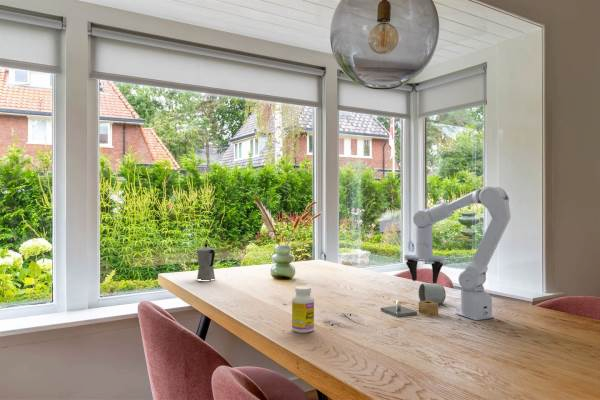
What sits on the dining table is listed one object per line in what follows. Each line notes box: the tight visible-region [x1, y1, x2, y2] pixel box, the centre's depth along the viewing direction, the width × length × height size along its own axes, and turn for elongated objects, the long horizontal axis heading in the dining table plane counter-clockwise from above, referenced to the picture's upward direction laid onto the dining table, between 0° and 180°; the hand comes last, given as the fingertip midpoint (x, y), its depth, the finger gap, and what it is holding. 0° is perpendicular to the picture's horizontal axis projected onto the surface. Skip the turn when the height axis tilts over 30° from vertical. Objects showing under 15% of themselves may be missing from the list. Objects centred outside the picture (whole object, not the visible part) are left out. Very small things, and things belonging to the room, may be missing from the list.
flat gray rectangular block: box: [380, 300, 418, 318], centre depth 156 cm, size 10×8×4 cm
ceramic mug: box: [418, 282, 447, 305], centre depth 171 cm, size 11×8×8 cm
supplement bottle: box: [291, 285, 315, 334], centre depth 135 cm, size 7×7×13 cm
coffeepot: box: [196, 243, 216, 280], centre depth 219 cm, size 15×9×18 cm, turn 37°
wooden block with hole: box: [418, 300, 439, 317], centre depth 154 cm, size 5×5×4 cm
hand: (424, 281), depth 162 cm, fingers open, 7 cm apart
